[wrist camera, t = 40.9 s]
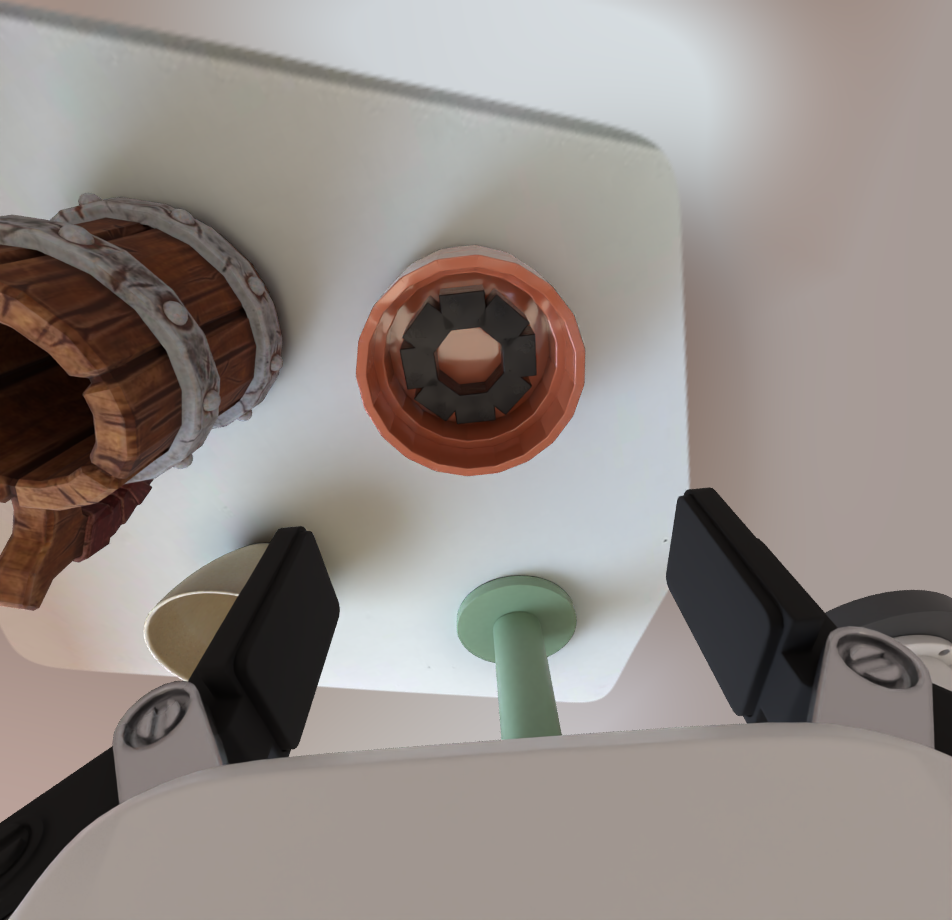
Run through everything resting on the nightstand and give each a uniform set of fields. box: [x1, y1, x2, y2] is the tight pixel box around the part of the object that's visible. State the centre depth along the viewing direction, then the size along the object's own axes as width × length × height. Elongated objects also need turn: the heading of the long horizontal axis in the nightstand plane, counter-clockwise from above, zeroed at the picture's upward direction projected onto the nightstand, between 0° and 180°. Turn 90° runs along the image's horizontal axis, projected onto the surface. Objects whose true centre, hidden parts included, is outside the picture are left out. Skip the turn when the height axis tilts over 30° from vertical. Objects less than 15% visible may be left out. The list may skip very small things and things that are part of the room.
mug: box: [0, 193, 283, 611], centre depth 19 cm, size 12×14×15 cm
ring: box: [400, 284, 537, 424], centre depth 24 cm, size 7×7×2 cm
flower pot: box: [144, 543, 269, 681], centre depth 31 cm, size 10×10×7 cm
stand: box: [457, 576, 577, 740], centre depth 32 cm, size 10×10×14 cm
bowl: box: [356, 245, 585, 476], centre depth 24 cm, size 11×11×5 cm
